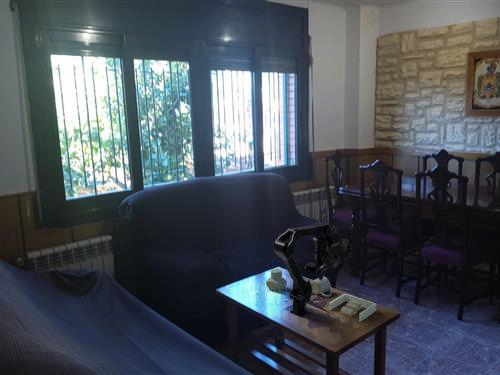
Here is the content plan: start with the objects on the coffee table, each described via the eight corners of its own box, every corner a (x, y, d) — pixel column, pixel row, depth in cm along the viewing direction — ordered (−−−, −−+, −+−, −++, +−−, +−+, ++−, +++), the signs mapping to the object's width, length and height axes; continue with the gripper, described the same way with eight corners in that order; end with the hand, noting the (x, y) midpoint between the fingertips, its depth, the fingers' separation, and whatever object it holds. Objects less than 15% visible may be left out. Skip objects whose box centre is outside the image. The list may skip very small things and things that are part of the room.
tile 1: (351, 317, 193) (351, 311, 192) (341, 314, 196) (341, 307, 196) (356, 313, 197) (356, 307, 196) (346, 310, 200) (347, 304, 199)
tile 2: (355, 313, 197) (356, 307, 196) (346, 309, 200) (346, 303, 200) (360, 309, 201) (361, 303, 200) (351, 306, 204) (351, 300, 203)
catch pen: (360, 321, 189) (360, 314, 188) (328, 309, 200) (328, 302, 199) (375, 310, 199) (376, 303, 198) (344, 300, 210) (345, 293, 209)
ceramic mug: (308, 292, 219) (309, 278, 218) (319, 288, 224) (320, 274, 223) (324, 299, 211) (325, 285, 210) (335, 295, 216) (336, 280, 215)
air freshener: (263, 288, 224) (263, 270, 223) (272, 283, 231) (272, 265, 229) (280, 293, 218) (280, 275, 216) (289, 288, 224) (289, 270, 222)
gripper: (324, 257, 189) (324, 290, 192) (347, 248, 203) (345, 279, 205) (304, 252, 197) (304, 284, 200) (327, 243, 210) (326, 273, 213)
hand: (320, 280), depth 204 cm, fingers closed
